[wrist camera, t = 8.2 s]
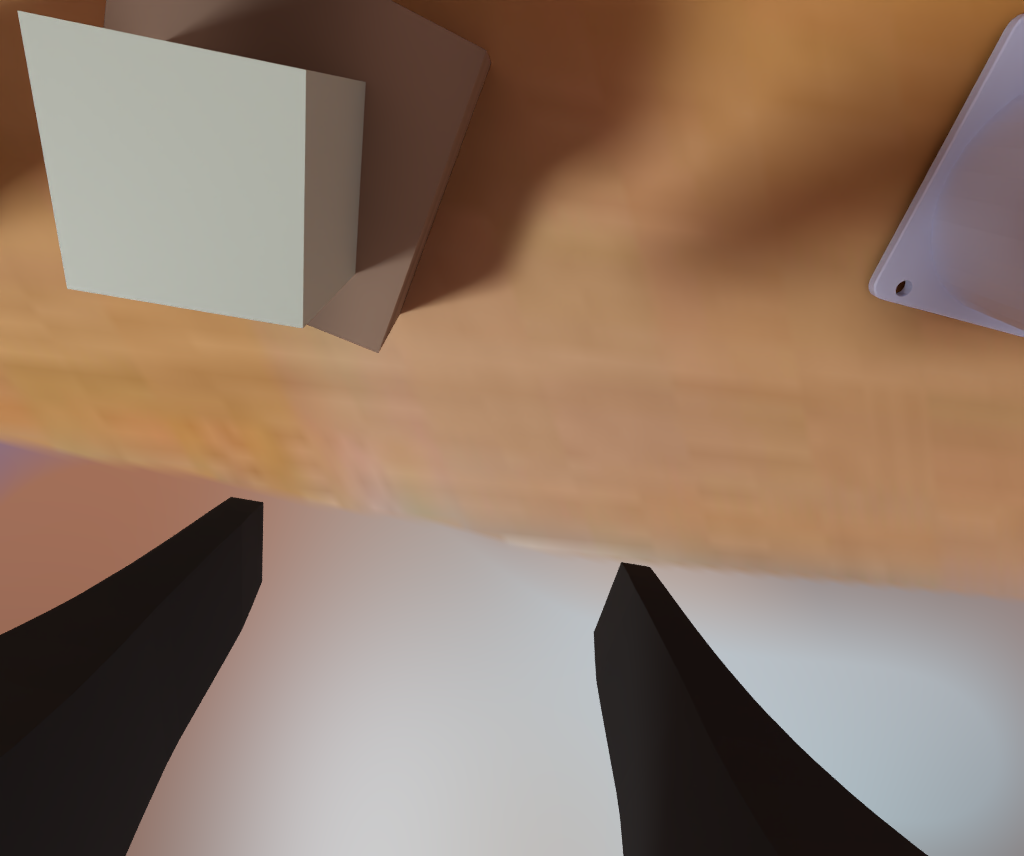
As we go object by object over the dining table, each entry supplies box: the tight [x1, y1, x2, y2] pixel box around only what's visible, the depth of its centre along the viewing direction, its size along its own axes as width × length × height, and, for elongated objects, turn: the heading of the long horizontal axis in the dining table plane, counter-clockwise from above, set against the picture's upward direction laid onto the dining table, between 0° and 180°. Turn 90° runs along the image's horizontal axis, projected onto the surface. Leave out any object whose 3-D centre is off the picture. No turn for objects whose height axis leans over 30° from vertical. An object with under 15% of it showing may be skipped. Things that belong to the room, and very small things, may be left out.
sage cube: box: [17, 10, 366, 328], centre depth 12 cm, size 4×4×4 cm
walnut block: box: [104, 0, 491, 353], centre depth 16 cm, size 8×8×4 cm
